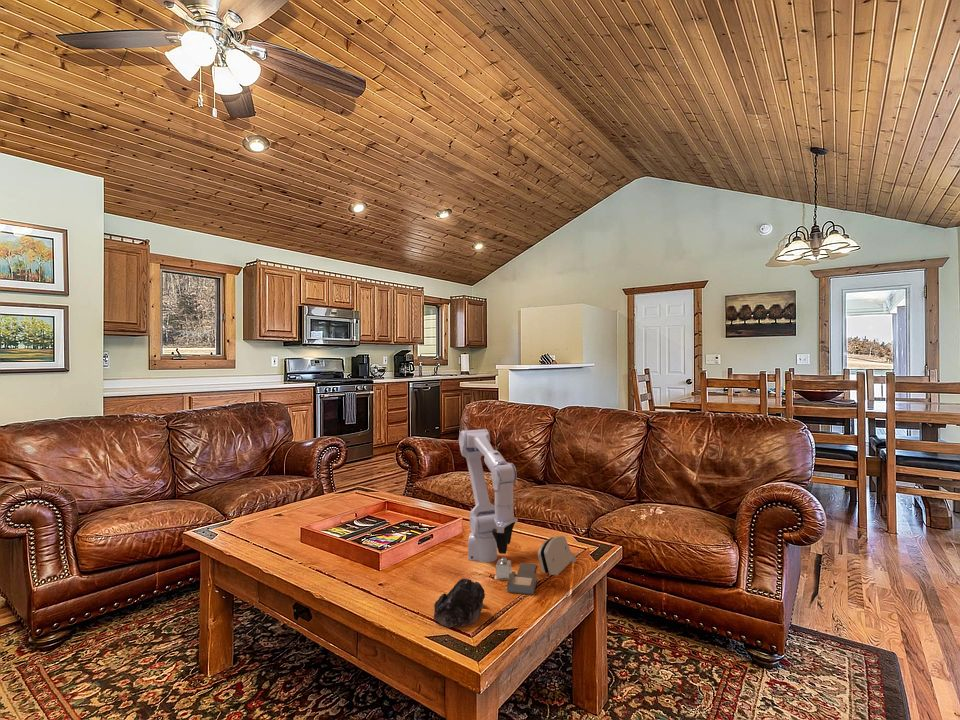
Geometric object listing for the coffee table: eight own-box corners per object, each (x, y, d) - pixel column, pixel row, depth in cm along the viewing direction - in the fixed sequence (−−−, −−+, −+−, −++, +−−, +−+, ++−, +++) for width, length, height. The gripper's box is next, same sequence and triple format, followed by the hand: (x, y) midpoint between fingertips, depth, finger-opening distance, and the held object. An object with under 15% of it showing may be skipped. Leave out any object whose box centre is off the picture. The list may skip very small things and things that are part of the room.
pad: (494, 581, 148) (494, 578, 148) (497, 574, 153) (497, 571, 153) (510, 583, 147) (510, 580, 147) (513, 576, 152) (513, 572, 152)
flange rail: (507, 595, 140) (507, 585, 140) (517, 567, 158) (516, 558, 158) (533, 598, 138) (533, 587, 138) (540, 569, 157) (540, 559, 157)
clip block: (496, 578, 149) (495, 560, 149) (498, 572, 153) (498, 555, 153) (509, 579, 148) (508, 562, 148) (511, 573, 152) (511, 556, 152)
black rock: (422, 625, 126) (422, 589, 125) (446, 596, 139) (447, 563, 138) (469, 640, 121) (470, 603, 120) (490, 609, 133) (491, 575, 132)
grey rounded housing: (557, 579, 150) (547, 546, 151) (544, 581, 152) (533, 548, 154) (577, 559, 164) (567, 529, 165) (564, 561, 166) (554, 532, 168)
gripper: (513, 512, 142) (514, 558, 142) (520, 497, 156) (520, 540, 156) (489, 510, 144) (490, 557, 144) (498, 496, 158) (498, 538, 158)
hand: (504, 548), depth 150 cm, fingers open, 7 cm apart
